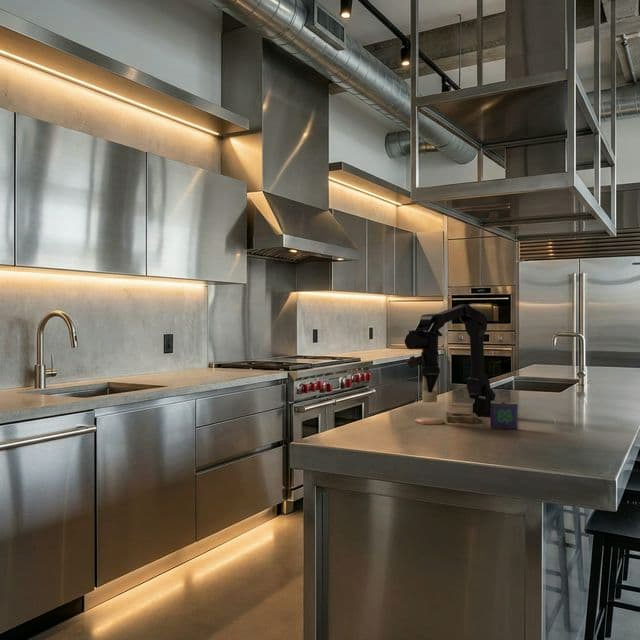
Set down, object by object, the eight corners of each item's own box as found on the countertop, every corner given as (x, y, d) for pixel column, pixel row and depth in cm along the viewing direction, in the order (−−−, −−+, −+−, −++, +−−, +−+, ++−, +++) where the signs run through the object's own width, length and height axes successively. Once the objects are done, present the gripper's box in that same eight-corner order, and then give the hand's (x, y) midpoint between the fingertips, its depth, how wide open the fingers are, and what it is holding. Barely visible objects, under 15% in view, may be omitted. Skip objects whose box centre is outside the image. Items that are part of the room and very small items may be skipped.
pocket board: (475, 418, 235) (475, 413, 235) (478, 423, 224) (478, 417, 224) (445, 417, 237) (445, 412, 237) (447, 422, 226) (447, 416, 226)
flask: (516, 428, 214) (516, 397, 214) (519, 430, 211) (519, 398, 211) (489, 428, 215) (489, 397, 215) (491, 429, 212) (491, 398, 212)
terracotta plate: (442, 420, 230) (442, 417, 230) (444, 425, 220) (444, 422, 220) (415, 419, 231) (415, 417, 231) (415, 424, 221) (415, 421, 221)
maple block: (436, 401, 227) (436, 376, 227) (436, 402, 223) (437, 377, 223) (422, 400, 228) (422, 376, 228) (422, 402, 224) (423, 377, 224)
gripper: (407, 347, 236) (407, 388, 236) (407, 349, 217) (407, 394, 217) (437, 347, 234) (437, 389, 234) (440, 350, 216) (439, 395, 216)
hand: (429, 391), depth 225 cm, fingers closed on maple block, 4 cm apart
